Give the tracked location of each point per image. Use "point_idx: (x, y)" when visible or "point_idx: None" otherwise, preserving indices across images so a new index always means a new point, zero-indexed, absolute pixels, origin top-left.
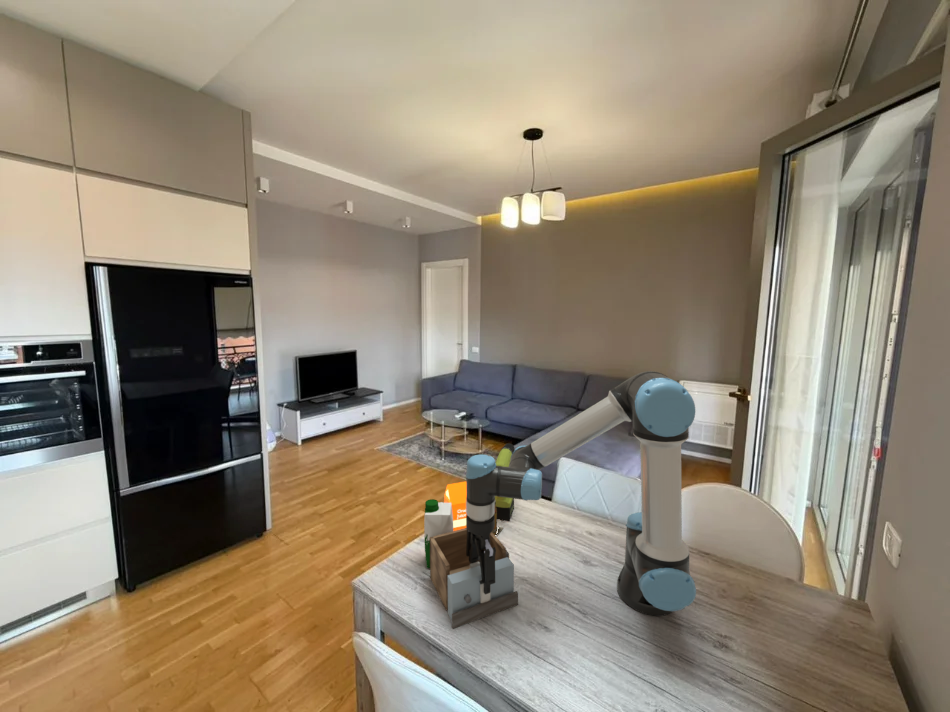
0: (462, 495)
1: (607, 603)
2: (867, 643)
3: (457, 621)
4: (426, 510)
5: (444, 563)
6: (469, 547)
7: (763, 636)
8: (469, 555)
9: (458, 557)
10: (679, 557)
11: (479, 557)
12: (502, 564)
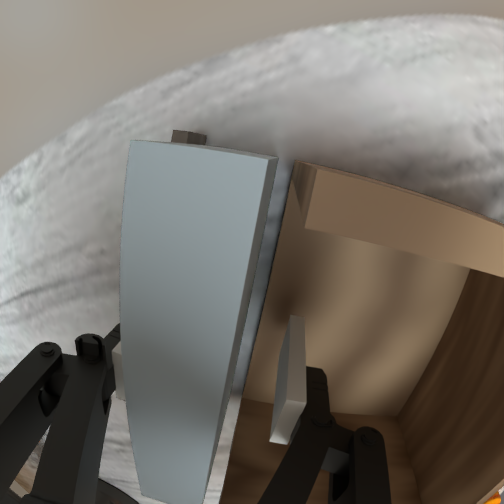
0: None
1: (102, 468)
2: (24, 488)
3: None
4: None
5: (383, 186)
6: (349, 501)
7: (31, 476)
8: (325, 451)
9: (463, 365)
10: None
11: (69, 488)
12: (162, 483)
